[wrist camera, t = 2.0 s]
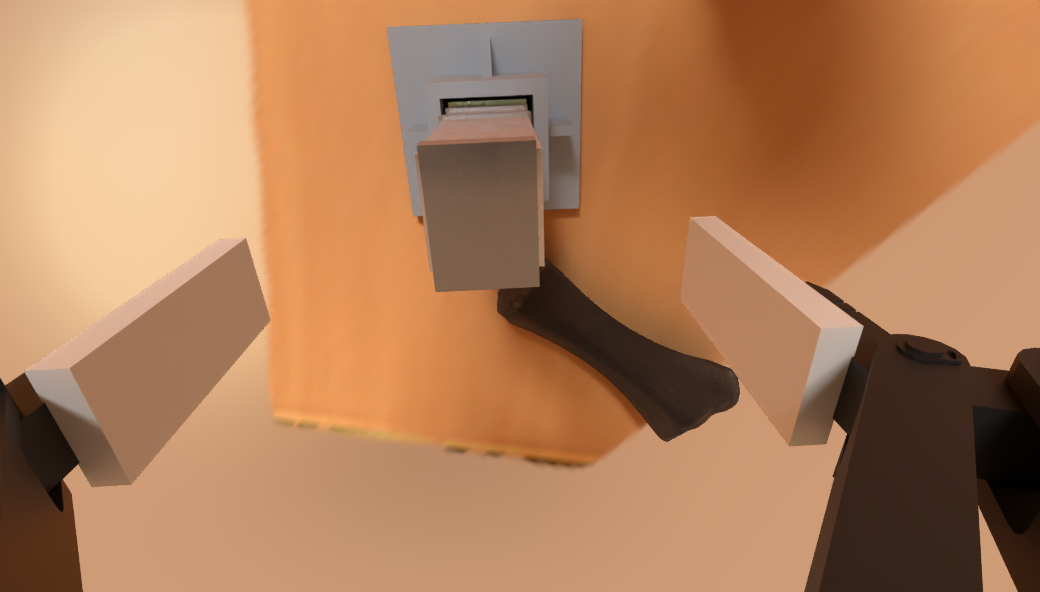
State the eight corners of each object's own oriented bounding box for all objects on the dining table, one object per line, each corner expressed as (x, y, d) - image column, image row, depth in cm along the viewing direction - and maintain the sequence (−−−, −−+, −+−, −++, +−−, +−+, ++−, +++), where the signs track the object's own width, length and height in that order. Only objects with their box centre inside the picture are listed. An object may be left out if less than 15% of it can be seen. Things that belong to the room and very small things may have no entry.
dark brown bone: (707, 367, 61) (525, 239, 56) (768, 379, 51) (551, 225, 46) (664, 443, 60) (473, 319, 55) (718, 472, 50) (488, 322, 45)
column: (456, 90, 42) (400, 146, 18) (521, 87, 42) (552, 139, 18) (462, 161, 45) (421, 292, 21) (523, 158, 45) (553, 286, 21)
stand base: (390, 27, 41) (354, 20, 31) (579, 20, 42) (606, 10, 31) (415, 211, 49) (393, 255, 38) (576, 203, 49) (597, 245, 39)
